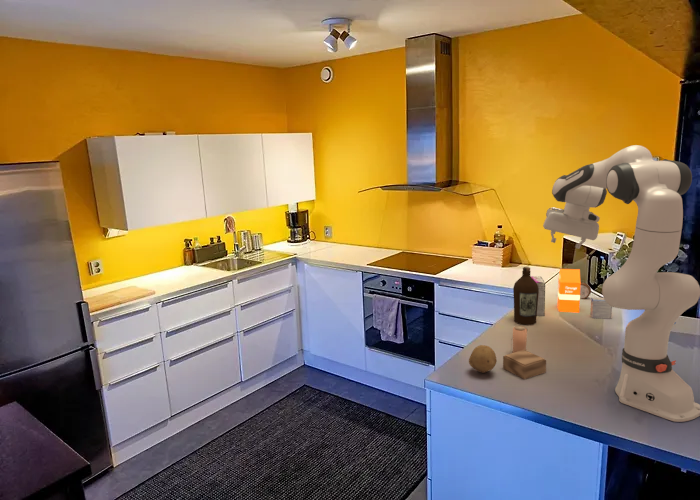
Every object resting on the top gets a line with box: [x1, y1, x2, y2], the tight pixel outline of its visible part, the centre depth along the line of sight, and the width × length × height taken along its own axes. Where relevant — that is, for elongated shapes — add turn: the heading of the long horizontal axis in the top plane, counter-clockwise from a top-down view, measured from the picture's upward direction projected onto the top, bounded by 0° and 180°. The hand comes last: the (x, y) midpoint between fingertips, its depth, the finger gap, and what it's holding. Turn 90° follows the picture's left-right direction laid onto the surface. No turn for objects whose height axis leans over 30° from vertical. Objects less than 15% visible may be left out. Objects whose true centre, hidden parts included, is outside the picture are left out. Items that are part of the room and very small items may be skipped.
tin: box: [580, 281, 592, 300], centre depth 243 cm, size 15×3×8 cm, turn 58°
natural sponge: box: [468, 344, 497, 374], centre depth 165 cm, size 9×9×10 cm
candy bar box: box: [530, 275, 546, 317], centre depth 223 cm, size 11×5×16 cm, turn 168°
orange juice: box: [556, 268, 581, 314], centre depth 224 cm, size 8×9×20 cm
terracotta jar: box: [511, 324, 528, 353], centre depth 179 cm, size 5×5×11 cm
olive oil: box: [512, 266, 539, 326], centre depth 210 cm, size 11×11×25 cm
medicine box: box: [589, 297, 613, 320], centre depth 213 cm, size 8×4×9 cm, turn 74°
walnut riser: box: [502, 349, 547, 380], centre depth 166 cm, size 10×10×5 cm
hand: (565, 245), depth 191 cm, fingers open, 8 cm apart
